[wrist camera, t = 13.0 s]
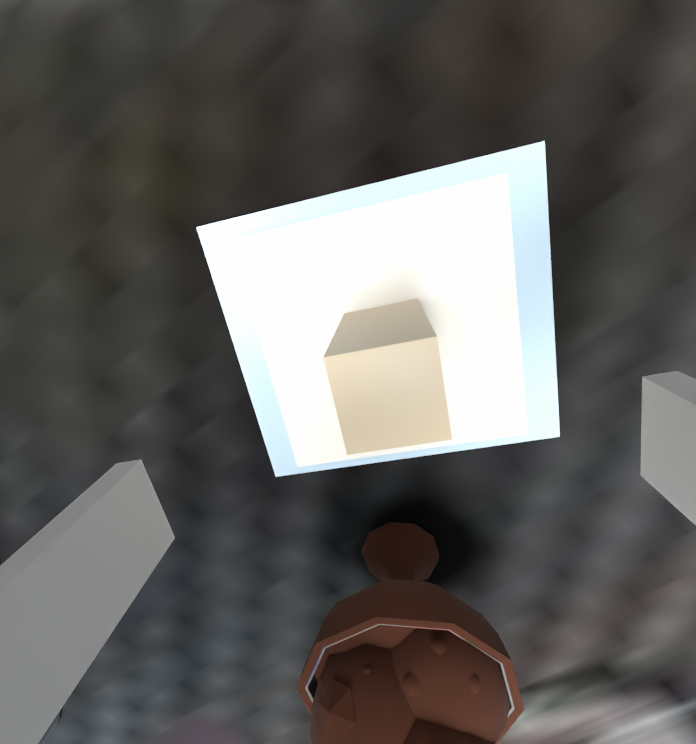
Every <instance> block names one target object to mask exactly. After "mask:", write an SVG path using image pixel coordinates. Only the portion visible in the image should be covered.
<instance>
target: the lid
mask: <svg viewBox="0 0 696 744" xmlns="http://www.w3.org/2000/svg"><path fill="white" fill-rule="evenodd" d="M231 243H232V246H233V249H234V253H235V256H236V260H237V263H238V266H239V270H240V273H241V276H242V280H243V283H244V287H245V290H246V293H247V297H248V300H249V304H250V307H251V310H252V314H253V317H254V321H255V324H256V327H257V331H258V334H259V337H260V341H261V344H262V348H263V351H264V354H265V358H266V361H267V365H268V368H269V371H270V375H271V378H272V382H273V385H274V388H275V392H276V395H277V398H278V402H279V405H280V409H281V412H282V415H283V419H284V422H285V426H286V429H287V432H288V436H289V439H290V443H291V446H292V449H293V453H294V456H295V459H296V463H297V466H298V467H302V466H309V465H316V464H323V463H330V462H337V461H344V460H351V459H358V458H365V457H371V456H378V455H385V454H392V453H399V452H406V451H413V450H420V449H427V448H434V447H441V446H448V445H455V444H462V443H469V442H476V441H483V440H490V439H497V438H504V437H511V436H517V435H524V434H528V426H527V414H526V401H525V389H524V376H523V364H522V351H521V339H520V326H519V314H518V301H517V289H516V276H515V263H514V251H513V238H512V226H511V213H510V201H509V188H508V176H507V173H504V174H499V175H495V176H491V177H487V178H483V179H479V180H474V181H470V182H466V183H462V184H458V185H454V186H449V187H445V188H441V189H437V190H433V191H429V192H424V193H420V194H416V195H412V196H408V197H403V198H399V199H395V200H391V201H387V202H383V203H378V204H374V205H370V206H366V207H362V208H358V209H353V210H349V211H345V212H341V213H337V214H332V215H328V216H324V217H320V218H316V219H312V220H307V221H303V222H299V223H295V224H291V225H287V226H282V227H278V228H274V229H270V230H266V231H262V232H257V233H253V234H249V235H245V236H241V237H236V238H232V239H231Z"/></svg>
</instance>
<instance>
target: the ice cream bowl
mask: <svg viewBox="0 0 696 744" xmlns="http://www.w3.org/2000/svg"><path fill="white" fill-rule="evenodd" d="M361 551H362V554H363V557H364V559H365V562H366V565H367V567H368V570H369V573H370V574H371V575H373V576H375V577H376V578H378V579H379V580H381V582H379V583H377V584H375V585H373V586H370V587H368V588H366V589H364V590H362V591H360V592H358V593H355V594H353V595H351V596H349V597H347V598H345V599H343V600H341V601H339V602H337V603H336V604H335V605H334V607H333V608H332V609H331V611H330V612H329V614H328V615H327V616H326V618H325V620H324V622H323V624H322V626H321V629H320V631H319V633H318V635H317V638H316V640H315V642H314V645H313V647H312V649H311V651H310V654H309V656H308V658H307V661H306V663H305V666H304V669H303V671H302V674H301V677H300V680H299V682H298V685H297V690H298V692H299V694H300V696H301V698H302V700H303V702H304V704H305V706H306V708H307V710H308V711H309V713H310V715H311V738H312V742H313V744H497V743H498V742H499V741H500V740H501V738H502V737H503V736H504V735H505V733H506V732H507V731H508V729H509V728H510V727H511V726H512V724H513V723H514V722H515V721H516V719H517V718H518V717H519V716H520V714H521V713H522V712H523V710H524V707H523V704H522V700H521V696H520V692H519V688H518V684H517V680H516V677H515V673H514V669H513V665H512V661H511V659H510V657H509V655H508V653H507V651H506V649H505V647H504V645H503V643H502V641H501V639H500V637H499V635H498V633H497V632H496V631H495V629H494V628H493V627H492V626H491V625H490V624H489V622H488V621H487V620H486V619H485V618H484V617H483V615H482V614H480V613H479V612H477V611H476V610H474V609H473V608H471V607H470V606H468V605H467V604H465V603H464V602H462V601H461V600H459V599H458V598H456V597H455V596H453V595H451V594H450V593H448V592H447V591H445V590H444V589H442V588H441V587H439V586H437V585H435V584H432V583H430V582H424V581H423V580H425V579H428V578H429V577H430V575H431V573H432V572H433V570H434V568H435V566H436V564H437V562H438V560H439V553H438V549H437V546H436V543H435V539H434V536H432V535H431V534H429V533H428V532H426V531H425V530H423V529H422V528H420V527H419V526H417V525H416V524H413V523H397V522H389V523H387V524H385V525H383V526H381V527H379V528H377V529H375V530H373V531H371V532H369V534H368V536H367V539H366V541H365V543H364V545H363V547H362V550H361Z"/></svg>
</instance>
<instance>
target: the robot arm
mask: <svg viewBox="0 0 696 744" xmlns="http://www.w3.org/2000/svg"><path fill="white" fill-rule="evenodd" d="M641 476H642V477H643V478H644V479H645V480H646V481H647V482H648V483H650V484H651V485H652V486H653V487H654V488H655V489H656V490H657V491H658V492H659V493H661V494H662V495H663V496H664V497H665V498H666V499H667V500H668V501H669V502H670V503H672V504H673V505H674V506H675V507H676V508H677V509H678V510H679V511H680V512H681V513H683V514H684V515H685V516H686V517H687V518H688V519H689V520H690V521H691V522H692V523H694V524H695V525H696V379H694V378H692V377H690V376H687V375H685V374H683V373H681V372H679V371H674V372H668V373H662V374H656V375H650V376H644V377H642V422H641ZM174 539H175V537H174V534H173V532H172V530H171V527H170V525H169V523H168V520H167V518H166V516H165V513H164V511H163V509H162V507H161V504H160V502H159V500H158V497H157V495H156V493H155V490H154V488H153V486H152V483H151V481H150V479H149V476H148V474H147V472H146V469H145V467H144V465H143V463H142V460H141V459H140V460H134V461H128V462H122V463H117V464H115V465H114V466H113V467H112V468H111V469H110V470H109V471H107V472H106V473H105V474H104V475H103V476H102V477H101V478H99V479H98V480H97V481H96V482H95V483H94V484H93V485H92V486H90V487H89V488H88V489H87V490H86V491H85V492H84V493H82V494H81V495H80V496H79V497H78V498H77V499H76V500H74V501H73V502H72V503H71V504H70V505H69V506H68V507H66V508H65V509H64V510H63V511H62V512H61V513H60V514H59V515H57V516H56V517H55V518H54V519H53V520H52V521H51V522H49V523H48V524H47V525H46V526H45V527H44V528H43V529H41V530H40V531H39V532H38V533H37V534H36V535H35V536H33V537H32V538H31V539H30V540H29V541H28V542H27V543H26V544H24V545H23V546H22V547H21V548H20V549H19V550H18V551H16V552H15V553H14V554H13V555H12V556H11V557H10V558H8V559H7V560H6V561H5V562H4V563H3V564H2V565H0V744H44V743H45V742H46V740H47V739H48V737H49V736H50V734H51V733H52V731H53V730H54V728H55V727H56V725H57V723H58V721H59V718H60V710H61V708H62V707H63V705H64V704H65V702H66V701H67V699H68V698H69V696H70V695H71V693H72V692H73V690H74V689H75V687H76V686H77V684H78V683H79V681H80V680H81V678H82V677H83V675H84V674H85V672H86V671H87V669H88V668H89V666H90V665H91V663H92V662H93V660H94V659H95V657H96V656H97V654H98V653H99V651H100V650H101V648H102V647H103V645H104V644H105V642H106V641H107V639H108V638H109V636H110V635H111V633H112V632H113V630H114V629H115V627H116V626H117V624H118V623H119V621H120V620H121V618H122V617H123V615H124V614H125V612H126V611H127V609H128V608H129V606H130V605H131V603H132V602H133V600H134V599H135V597H136V596H137V594H138V593H139V591H140V590H141V588H142V587H143V585H144V584H145V582H146V581H147V579H148V578H149V576H150V575H151V573H152V572H153V570H154V569H155V567H156V566H157V564H158V563H159V561H160V560H161V558H162V557H163V555H164V554H165V552H166V551H167V549H168V548H169V546H170V545H171V543H172V542H173V540H174Z"/></svg>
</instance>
